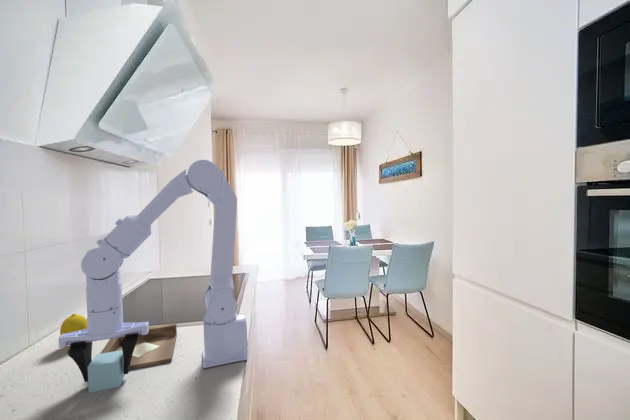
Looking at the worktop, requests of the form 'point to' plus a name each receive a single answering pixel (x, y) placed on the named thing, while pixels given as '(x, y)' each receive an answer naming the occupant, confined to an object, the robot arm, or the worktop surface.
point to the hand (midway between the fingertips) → (108, 375)
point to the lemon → (73, 324)
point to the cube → (106, 371)
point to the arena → (149, 346)
